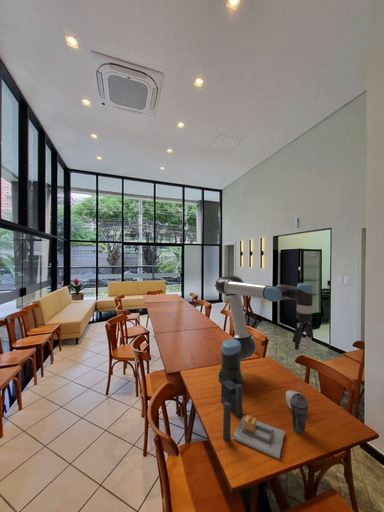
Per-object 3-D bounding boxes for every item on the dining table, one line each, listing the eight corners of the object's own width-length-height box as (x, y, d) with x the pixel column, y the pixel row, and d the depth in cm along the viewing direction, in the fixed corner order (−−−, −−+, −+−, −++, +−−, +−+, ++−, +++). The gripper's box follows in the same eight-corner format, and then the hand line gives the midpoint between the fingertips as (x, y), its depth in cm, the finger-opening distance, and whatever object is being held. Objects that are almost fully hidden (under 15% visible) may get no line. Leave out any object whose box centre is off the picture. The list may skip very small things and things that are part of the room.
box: (238, 408, 111) (239, 386, 112) (229, 411, 109) (230, 389, 109) (229, 399, 118) (230, 379, 119) (220, 402, 116) (221, 381, 116)
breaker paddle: (243, 429, 95) (244, 418, 95) (246, 423, 98) (246, 413, 98) (253, 433, 93) (253, 422, 93) (255, 427, 96) (255, 416, 96)
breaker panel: (233, 439, 92) (233, 431, 92) (243, 418, 104) (243, 412, 104) (279, 459, 83) (279, 451, 83) (284, 434, 95) (284, 427, 95)
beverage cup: (286, 424, 101) (287, 380, 101) (301, 423, 102) (302, 379, 102) (295, 437, 94) (295, 389, 94) (311, 436, 94) (312, 389, 95)
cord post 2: (234, 416, 106) (235, 386, 106) (236, 412, 108) (237, 383, 108) (240, 418, 104) (241, 388, 104) (242, 414, 107) (243, 385, 107)
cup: (291, 414, 108) (291, 400, 108) (280, 401, 118) (280, 388, 118) (305, 412, 109) (306, 399, 109) (293, 400, 119) (293, 387, 119)
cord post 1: (221, 439, 92) (222, 404, 92) (224, 434, 94) (225, 401, 95) (228, 442, 90) (229, 407, 91) (231, 437, 93) (232, 403, 93)
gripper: (301, 317, 108) (299, 361, 108) (320, 310, 124) (319, 348, 124) (286, 314, 114) (284, 355, 113) (306, 308, 130) (305, 344, 130)
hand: (303, 352), depth 119 cm, fingers open, 13 cm apart
